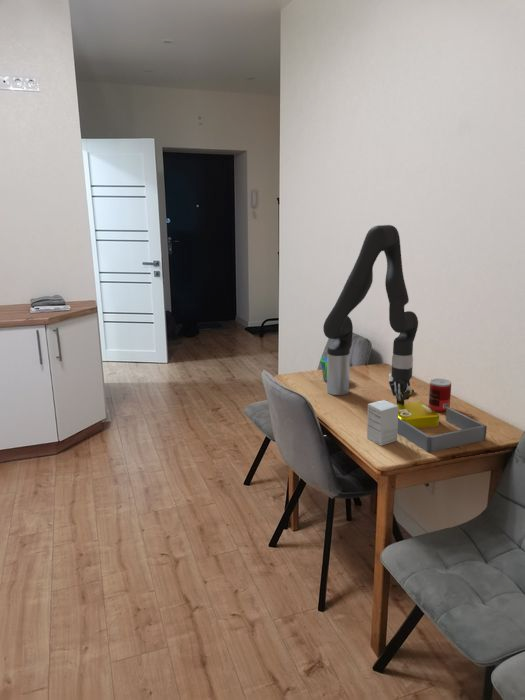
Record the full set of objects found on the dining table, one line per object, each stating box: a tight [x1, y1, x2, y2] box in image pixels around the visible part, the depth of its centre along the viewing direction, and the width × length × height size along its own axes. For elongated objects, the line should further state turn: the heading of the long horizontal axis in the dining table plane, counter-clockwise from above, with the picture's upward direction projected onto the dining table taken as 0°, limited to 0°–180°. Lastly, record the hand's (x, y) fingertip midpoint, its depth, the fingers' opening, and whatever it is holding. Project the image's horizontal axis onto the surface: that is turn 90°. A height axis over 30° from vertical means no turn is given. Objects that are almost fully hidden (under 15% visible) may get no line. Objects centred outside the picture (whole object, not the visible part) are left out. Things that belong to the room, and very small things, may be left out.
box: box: [397, 407, 488, 453], centre depth 177 cm, size 18×23×5 cm
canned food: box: [428, 378, 452, 413], centre depth 199 cm, size 8×8×11 cm
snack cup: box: [319, 356, 327, 383], centre depth 236 cm, size 16×10×10 cm
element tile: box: [394, 401, 440, 429], centre depth 191 cm, size 15×15×5 cm
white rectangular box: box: [366, 399, 398, 446], centre depth 174 cm, size 7×7×13 cm
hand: (400, 408), depth 198 cm, fingers closed
